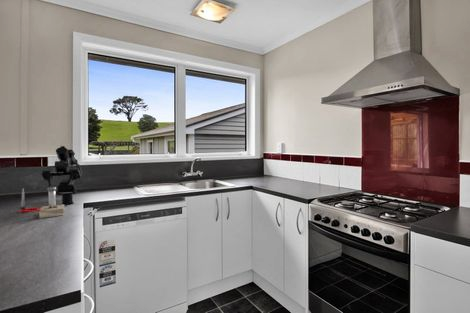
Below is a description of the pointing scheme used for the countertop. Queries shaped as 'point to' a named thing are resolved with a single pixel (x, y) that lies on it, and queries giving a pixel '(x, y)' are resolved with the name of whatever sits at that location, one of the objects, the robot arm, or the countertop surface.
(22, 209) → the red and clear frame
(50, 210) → the socket block
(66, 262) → the countertop surface
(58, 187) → the robot arm
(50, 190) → the steel pin
